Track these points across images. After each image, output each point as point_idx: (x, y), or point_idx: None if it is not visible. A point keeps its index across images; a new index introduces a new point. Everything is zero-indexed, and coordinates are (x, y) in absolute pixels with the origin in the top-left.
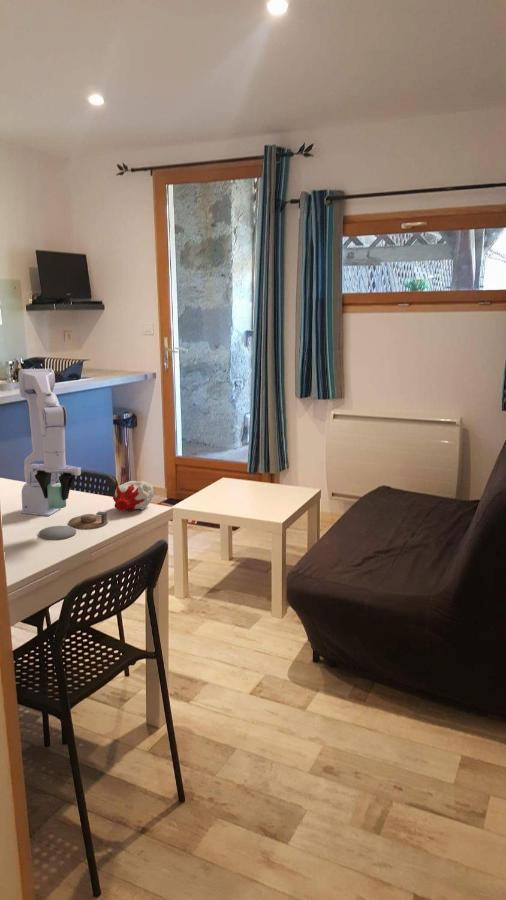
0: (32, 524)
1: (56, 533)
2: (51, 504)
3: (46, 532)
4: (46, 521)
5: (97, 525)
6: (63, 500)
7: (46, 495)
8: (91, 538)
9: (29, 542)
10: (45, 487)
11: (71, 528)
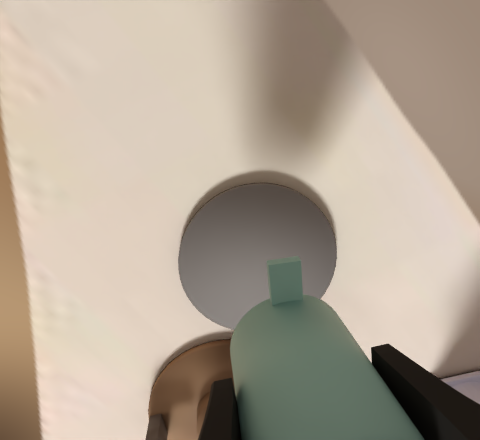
0: (417, 294)
1: (249, 244)
2: (298, 310)
3: (296, 233)
4: (385, 342)
5: (158, 390)
6: (235, 384)
7: (384, 365)
8: (88, 281)
9: (302, 116)
10: (442, 431)
11: (231, 318)
